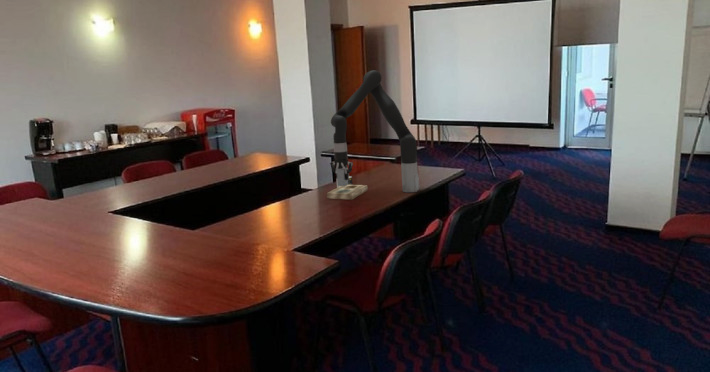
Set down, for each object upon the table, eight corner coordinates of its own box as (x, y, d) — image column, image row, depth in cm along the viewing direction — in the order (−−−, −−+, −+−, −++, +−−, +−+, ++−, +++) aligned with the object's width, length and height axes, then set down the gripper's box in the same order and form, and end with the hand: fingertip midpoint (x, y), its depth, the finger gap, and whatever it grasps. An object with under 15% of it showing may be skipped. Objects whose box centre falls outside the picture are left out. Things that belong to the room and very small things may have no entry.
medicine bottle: (345, 190, 347) (344, 171, 344) (336, 189, 351) (335, 170, 348) (352, 187, 352) (351, 168, 350) (344, 186, 357) (342, 168, 354)
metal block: (348, 184, 327) (347, 167, 325) (344, 186, 323) (343, 169, 321) (341, 184, 329) (340, 167, 327) (337, 185, 325) (336, 168, 323)
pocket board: (367, 191, 339) (367, 184, 338) (352, 201, 320) (352, 193, 319) (343, 190, 346) (343, 184, 345) (327, 199, 326) (326, 192, 325)
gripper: (354, 149, 322) (356, 178, 326) (332, 149, 328) (334, 177, 332) (349, 151, 315) (351, 181, 319) (326, 151, 321) (328, 180, 325)
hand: (342, 179), depth 325 cm, fingers closed on metal block, 4 cm apart
